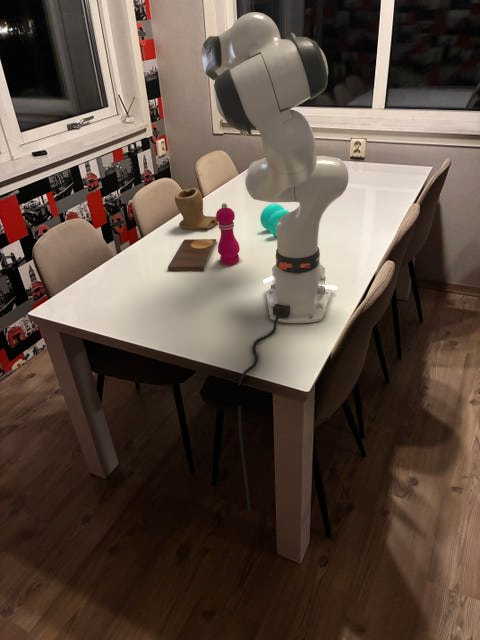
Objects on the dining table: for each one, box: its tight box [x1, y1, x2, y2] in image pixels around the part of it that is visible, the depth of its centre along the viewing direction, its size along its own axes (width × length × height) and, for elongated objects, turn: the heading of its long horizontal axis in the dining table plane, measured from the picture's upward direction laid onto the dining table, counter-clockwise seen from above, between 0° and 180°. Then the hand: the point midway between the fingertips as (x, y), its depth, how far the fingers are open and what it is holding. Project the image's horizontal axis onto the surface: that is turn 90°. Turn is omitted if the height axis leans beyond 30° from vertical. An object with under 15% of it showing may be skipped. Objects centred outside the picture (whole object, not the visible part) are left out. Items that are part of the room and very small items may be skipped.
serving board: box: [167, 238, 218, 272], centre depth 169 cm, size 22×12×2 cm, turn 171°
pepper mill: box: [215, 202, 241, 266], centre depth 159 cm, size 7×7×20 cm
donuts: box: [259, 203, 291, 237], centre depth 178 cm, size 10×10×10 cm
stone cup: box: [174, 187, 219, 229], centre depth 188 cm, size 15×12×15 cm
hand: (256, 136), depth 145 cm, fingers open, 8 cm apart
